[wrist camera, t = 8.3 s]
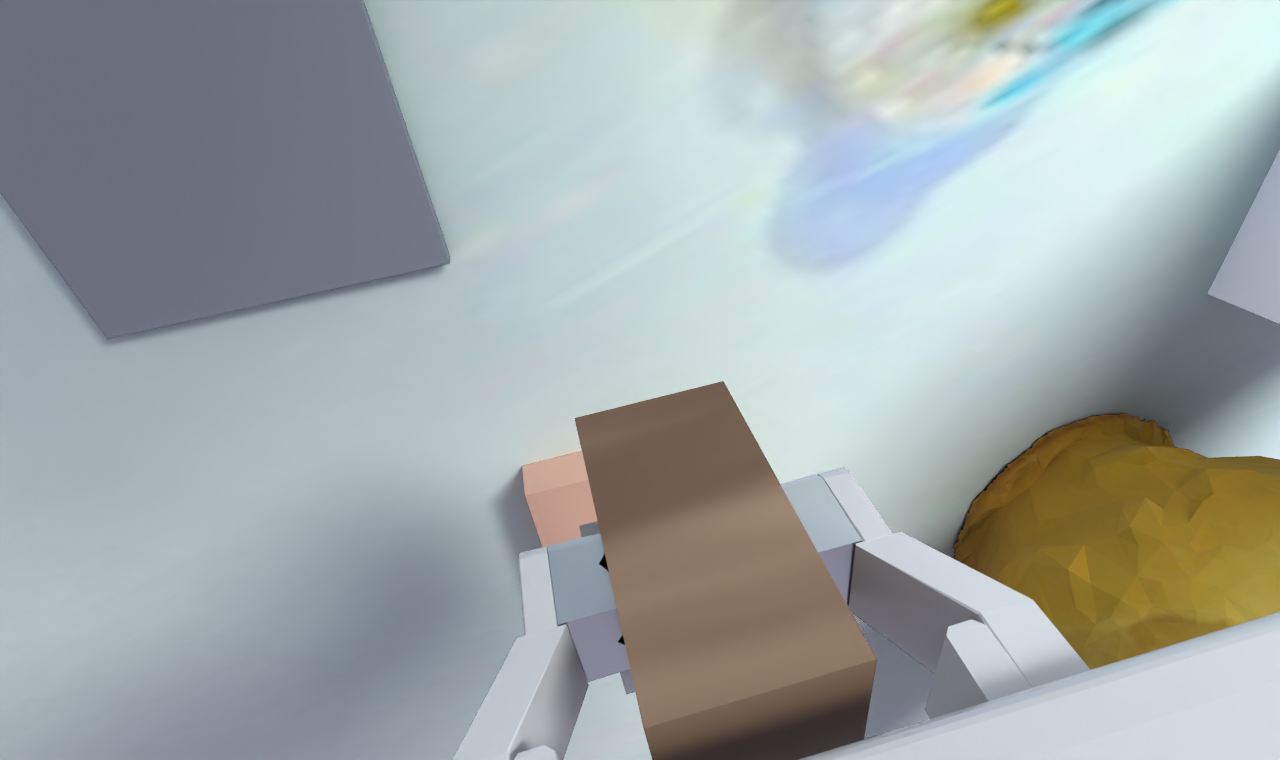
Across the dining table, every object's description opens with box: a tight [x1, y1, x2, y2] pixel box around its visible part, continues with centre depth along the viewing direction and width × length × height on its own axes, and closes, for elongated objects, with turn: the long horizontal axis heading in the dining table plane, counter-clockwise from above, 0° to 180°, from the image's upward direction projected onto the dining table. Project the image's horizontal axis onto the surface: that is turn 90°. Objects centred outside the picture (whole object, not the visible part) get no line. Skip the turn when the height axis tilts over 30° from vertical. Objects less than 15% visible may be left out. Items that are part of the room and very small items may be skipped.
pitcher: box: [953, 413, 1280, 670], centre depth 26 cm, size 17×19×25 cm
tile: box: [522, 451, 597, 547], centre depth 28 cm, size 2×8×9 cm
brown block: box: [575, 381, 877, 760], centre depth 13 cm, size 9×4×6 cm, turn 10°
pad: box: [0, 0, 450, 339], centre depth 16 cm, size 12×10×1 cm
